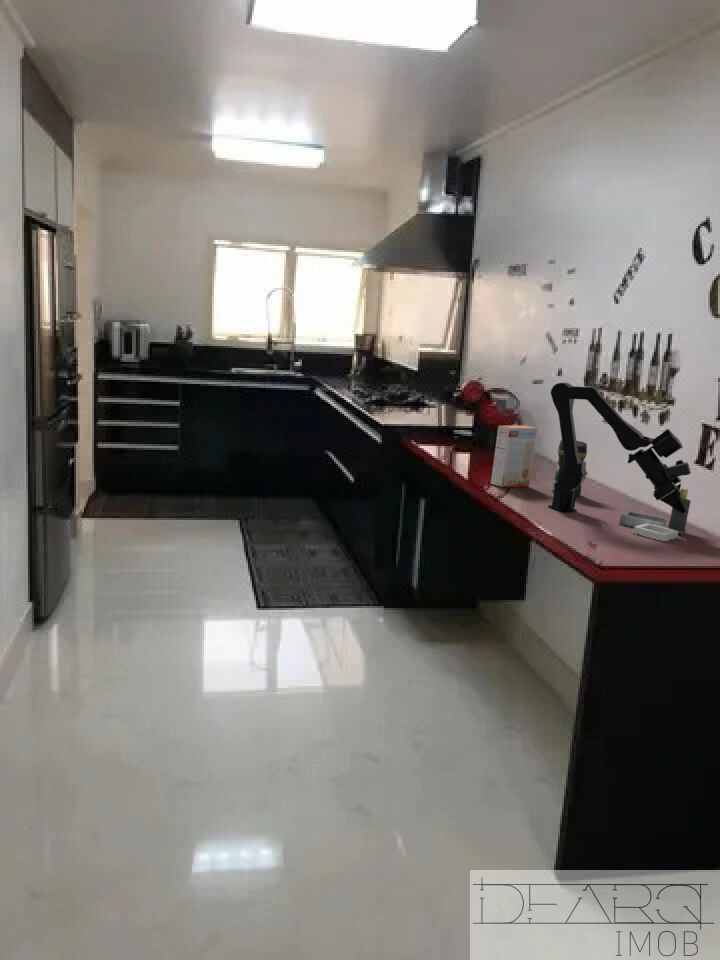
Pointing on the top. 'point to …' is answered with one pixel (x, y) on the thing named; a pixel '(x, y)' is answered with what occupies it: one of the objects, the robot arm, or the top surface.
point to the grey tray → (640, 519)
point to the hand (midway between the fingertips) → (685, 511)
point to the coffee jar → (559, 471)
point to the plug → (680, 514)
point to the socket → (655, 532)
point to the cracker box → (513, 456)
